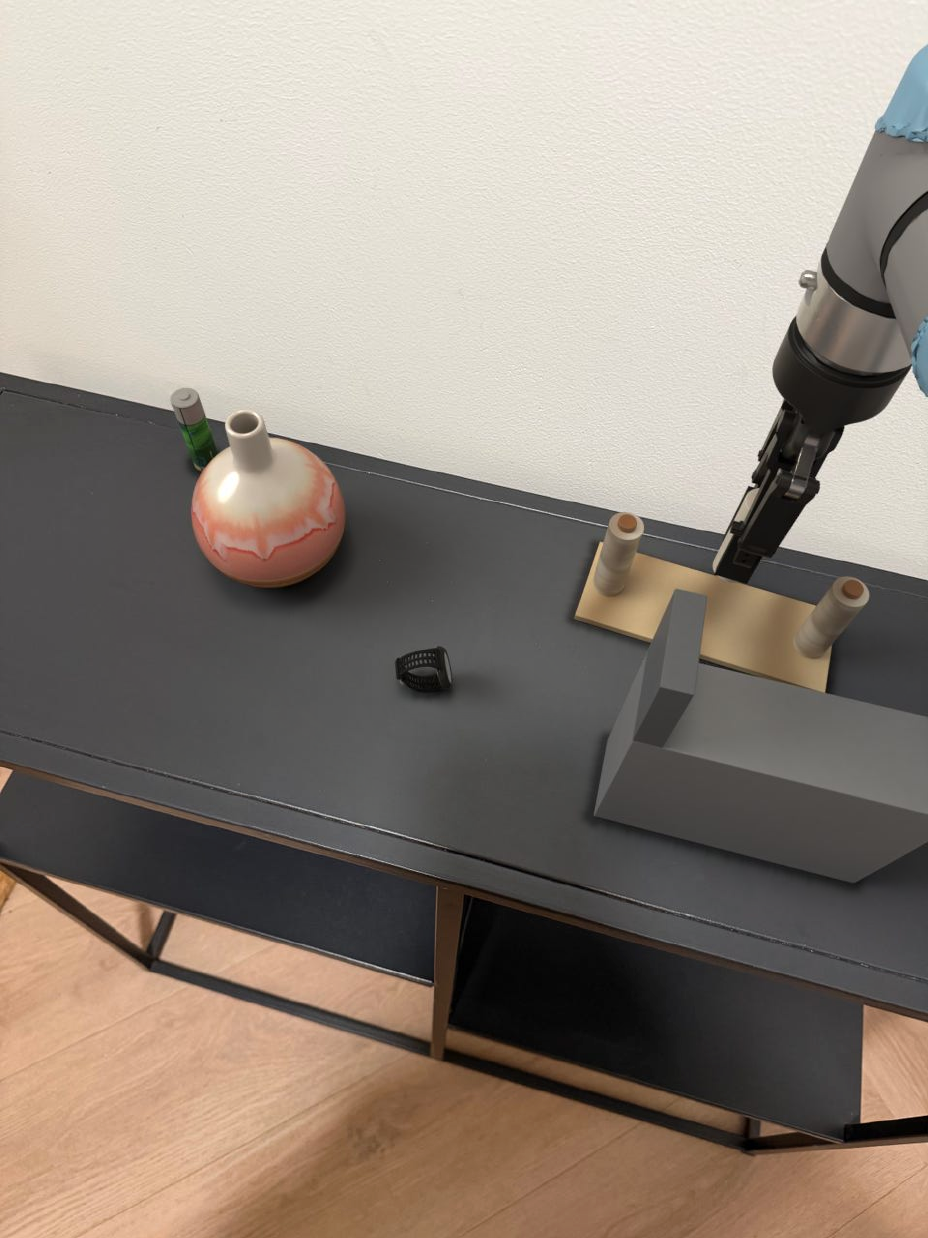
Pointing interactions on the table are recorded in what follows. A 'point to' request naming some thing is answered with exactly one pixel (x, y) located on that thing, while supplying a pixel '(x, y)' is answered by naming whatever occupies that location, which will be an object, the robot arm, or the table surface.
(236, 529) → the vase
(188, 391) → the battery
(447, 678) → the smartwatch
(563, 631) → the table surface
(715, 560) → the white cell
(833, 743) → the grey stand
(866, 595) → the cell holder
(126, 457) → the table surface
